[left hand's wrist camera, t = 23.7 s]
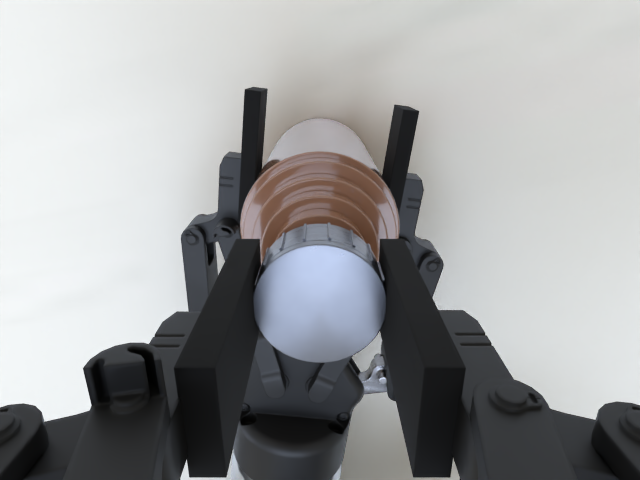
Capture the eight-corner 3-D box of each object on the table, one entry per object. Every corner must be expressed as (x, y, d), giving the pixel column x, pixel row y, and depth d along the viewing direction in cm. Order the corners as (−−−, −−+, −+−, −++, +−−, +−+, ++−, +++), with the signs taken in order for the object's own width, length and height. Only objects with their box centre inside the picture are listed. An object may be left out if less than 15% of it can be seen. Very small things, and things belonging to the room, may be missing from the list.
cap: (380, 329, 15) (388, 362, 14) (263, 334, 15) (256, 367, 14) (381, 219, 14) (390, 240, 12) (252, 224, 14) (243, 246, 12)
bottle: (385, 140, 29) (470, 235, 13) (346, 229, 32) (376, 408, 15) (289, 102, 28) (248, 151, 12) (257, 196, 31) (183, 348, 14)
